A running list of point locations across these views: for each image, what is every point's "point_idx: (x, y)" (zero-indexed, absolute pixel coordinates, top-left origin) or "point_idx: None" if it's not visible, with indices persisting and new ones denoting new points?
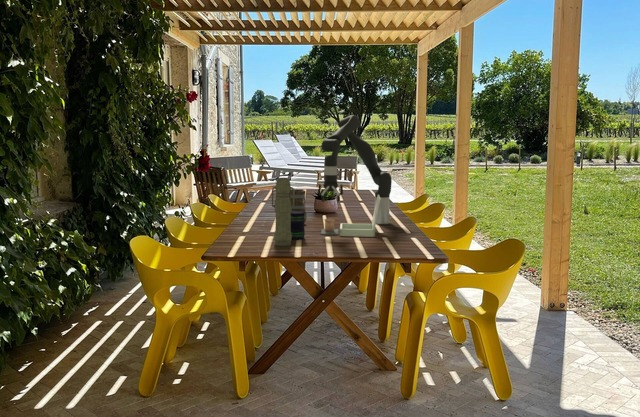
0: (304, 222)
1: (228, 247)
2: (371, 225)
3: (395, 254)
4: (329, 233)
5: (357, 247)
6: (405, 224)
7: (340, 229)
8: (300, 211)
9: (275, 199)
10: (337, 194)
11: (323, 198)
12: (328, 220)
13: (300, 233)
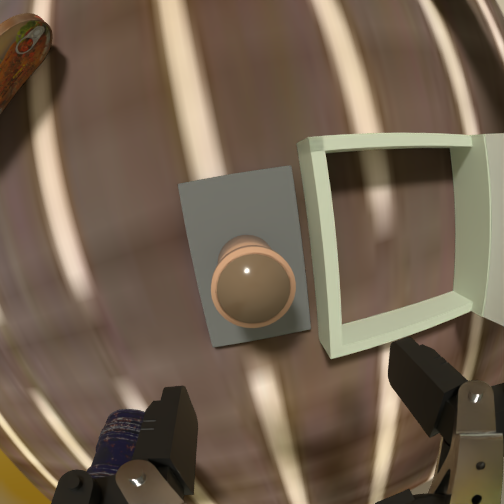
0: (49, 45)
1: None
2: (466, 146)
3: None
4: (261, 332)
5: (375, 463)
6: (492, 10)
7: (333, 357)
8: None
9: None
10: (440, 453)
11: (189, 459)
12: (252, 327)
13: None
